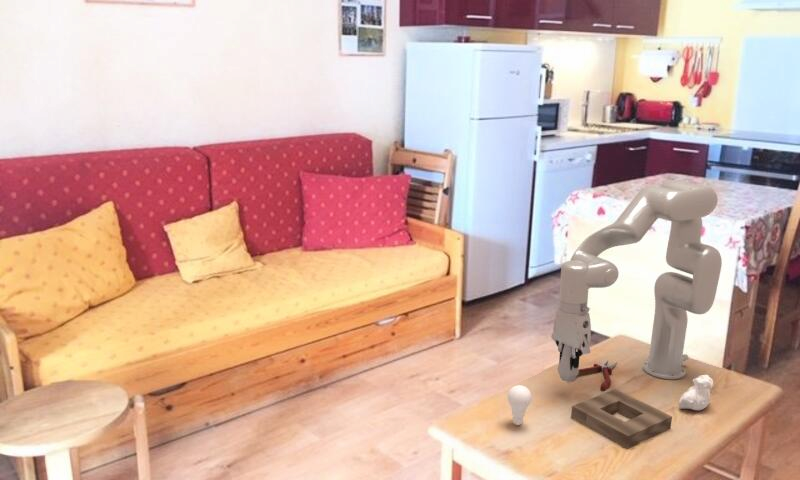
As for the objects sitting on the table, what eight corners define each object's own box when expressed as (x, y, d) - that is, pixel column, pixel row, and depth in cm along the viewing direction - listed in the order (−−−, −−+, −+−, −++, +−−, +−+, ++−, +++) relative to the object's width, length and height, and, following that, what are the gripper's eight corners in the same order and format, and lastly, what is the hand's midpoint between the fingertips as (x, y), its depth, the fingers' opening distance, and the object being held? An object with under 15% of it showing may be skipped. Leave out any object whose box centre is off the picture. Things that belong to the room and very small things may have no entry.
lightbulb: (532, 423, 179) (535, 385, 177) (524, 433, 174) (527, 394, 172) (510, 416, 182) (513, 379, 180) (502, 426, 177) (504, 388, 174)
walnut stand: (614, 400, 193) (615, 388, 192) (670, 428, 179) (672, 416, 178) (571, 417, 183) (572, 405, 182) (627, 448, 169) (628, 436, 168)
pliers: (629, 370, 213) (630, 362, 212) (604, 393, 198) (605, 385, 197) (594, 360, 220) (595, 352, 219) (567, 382, 204) (568, 374, 204)
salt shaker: (553, 378, 193) (555, 335, 189) (564, 371, 197) (567, 329, 193) (571, 385, 189) (574, 342, 185) (582, 378, 193) (585, 335, 189)
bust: (682, 421, 187) (711, 401, 179) (665, 397, 190) (692, 377, 183) (705, 408, 194) (734, 389, 187) (688, 385, 198) (715, 366, 190)
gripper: (606, 311, 182) (600, 374, 187) (559, 294, 195) (556, 353, 200) (587, 318, 178) (582, 381, 183) (541, 299, 191) (537, 359, 196)
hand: (568, 366), depth 192 cm, fingers closed on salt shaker, 3 cm apart
